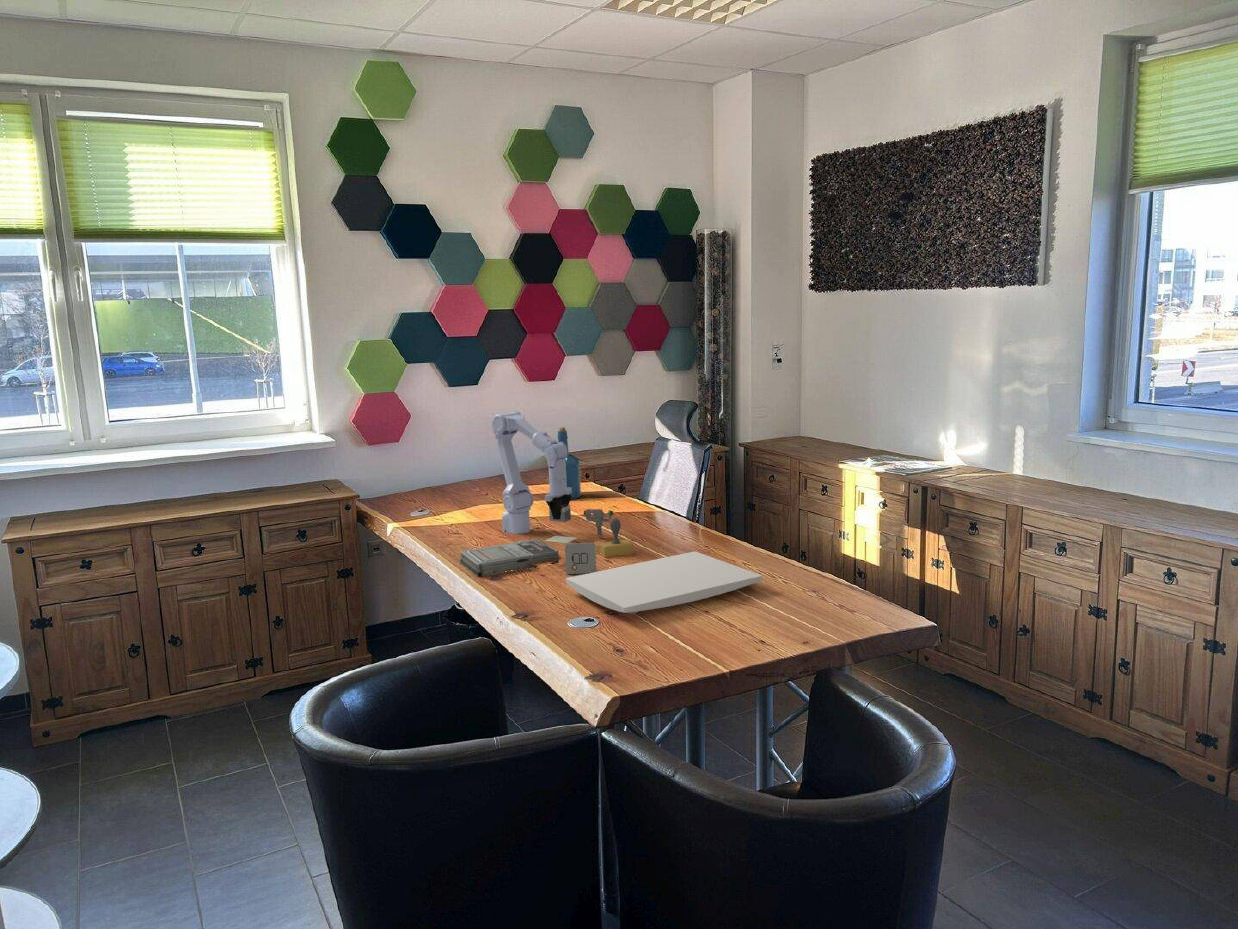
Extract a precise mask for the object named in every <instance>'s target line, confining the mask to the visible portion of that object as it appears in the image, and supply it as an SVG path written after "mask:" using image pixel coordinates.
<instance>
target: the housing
mask: <svg viewBox="0 0 1238 929" xmlns="http://www.w3.org/2000/svg"><path fill="white" fill-rule="evenodd" d="M571 512H572V511H571V505H570V504H569V505H562V504H561V508H560V519H559V520H556V519H553V516H552V513H551V510H550V508H549V507H548V514H549V521H550V522H560V523H566V522H568V521H571V520H572V517H571V516H572V514H571Z"/></svg>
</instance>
